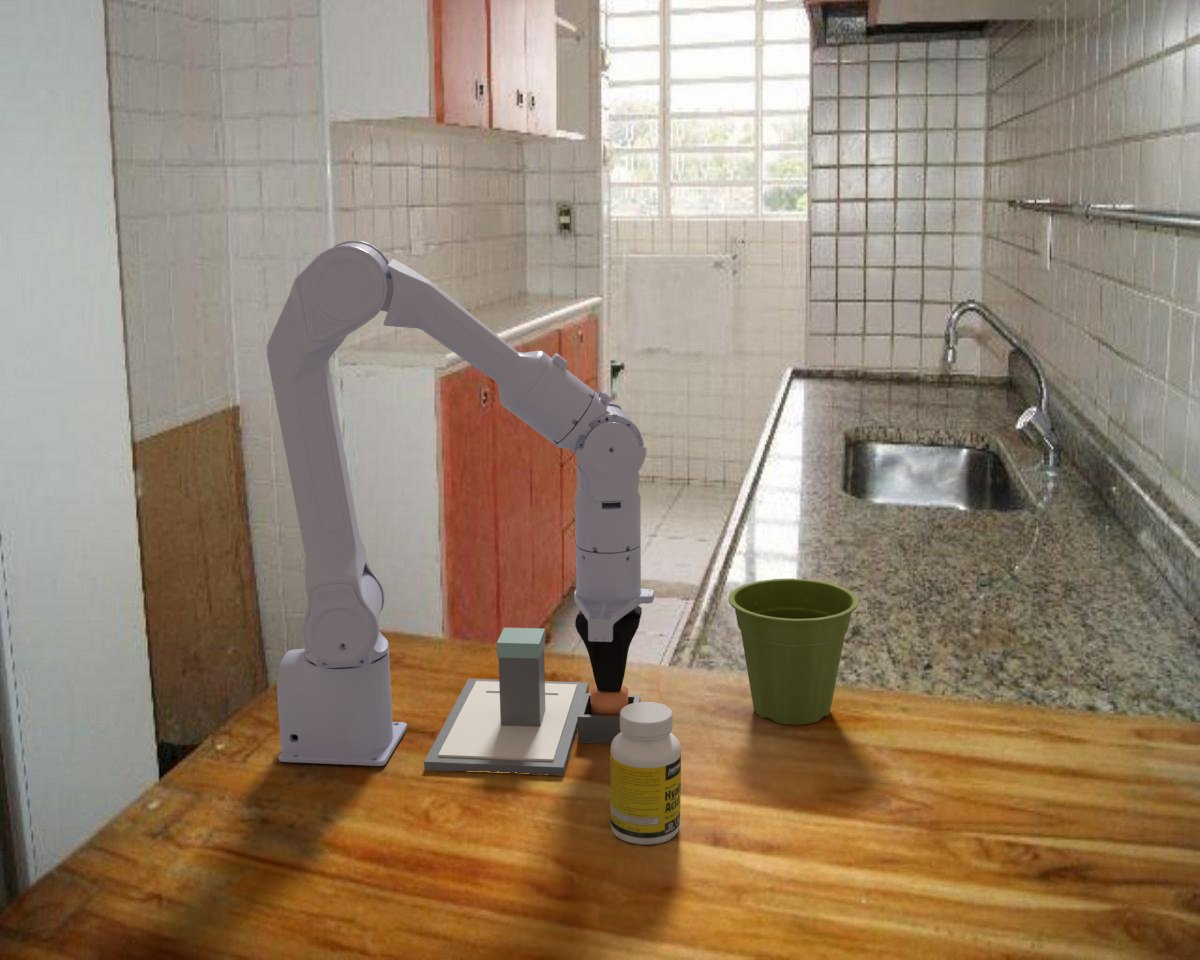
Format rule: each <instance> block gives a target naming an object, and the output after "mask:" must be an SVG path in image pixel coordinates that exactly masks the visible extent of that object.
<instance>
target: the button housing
mask: <svg viewBox="0 0 1200 960" xmlns="http://www.w3.org/2000/svg"><path fill="white" fill-rule="evenodd" d="M637 702H641V694H628V705H629V704H632V703H637ZM577 719H578V728H577V743H581V744H601V745H603V744H605V745H611V743H612V741H613V739H614V738H615V736H616V735H618V734H619V733H620V732H621V731H620V716H610V715H593V714H592V713H591V692H588V693H584V696H583V700H582V703H581V706H580V710H579V713H578V717H577Z"/></svg>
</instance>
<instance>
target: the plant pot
mask: <svg viewBox="0 0 1200 960" xmlns="http://www.w3.org/2000/svg"><path fill="white" fill-rule="evenodd" d="M859 600H860V599H859V597H858V596H857V595H856V593H854V591H851V590H849V589H848V588H847V587H843V586H842V585H841V586H840V585H837V584H835V583H831V582H827V581H822V580H815V579H808V578H806V579H805V578H772V579H765V580H757V581H753V582H749V583H746V584H742V585H740V586H738V587H737V588H734V589H733V590H732V591H731V592H730V593H729V595H728V602H729V604H730V606H731V607H732V608H734V611H735V617H736V623H737V626H738V628H739V630H740V634H741V641H742V645H743V653H744V658H745V659H744V660H745V663H746V664H745V666H746V670H747V676H748V677H747V678H748V681H749V682H748V683H749V688H750V695H751V700H752V705H753V706H752V707H753V710H754V711H755V713H756V714H757V715H758V716H759V717H761V718H763V719H765V718H769V719H771V720H773V721H775V723H778V724H783V725H788V726H789V725H790V726H794V725H810V724H813V723H816V722H819V721H820V720H821V719H822V718H824V717H825V716H826V717H828V716H829V714H830V712H831V709H832V704H833V699H834V694H835V693H834V692H835V687H836V682H837V678H838V673H839V667H840V662H841V657H842V651H843V646H844V642H845V636H846V633H848V630H849V627H850V626H849V625H850V622H851V617H852V613H853V612H854V611H856V609H858V606H859V603H860V601H859Z"/></svg>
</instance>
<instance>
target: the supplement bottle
mask: <svg viewBox="0 0 1200 960" xmlns="http://www.w3.org/2000/svg"><path fill="white" fill-rule="evenodd" d="M673 726H674V725H673V711H672V709H671V708H670V707H669V706H667V705H665V704H663V703H659V702H654V701H640V702H637V703H632V704H629V705H626V706H625V707H623V708H622V709H621V711H620V731H621V732H620V733H619V734H618V735H616V736H615V738H614V739H613V741H612V743H611V744H610V761H609V763H610V768H609V769H610V774H609V775H610V777H609V778H610V781H609V782H610V785H609V786H610V796H609V797H610V799H609V800H610V803H609V804H610V809H609V811H610V813H609V814H610V815H609V817H610V828H611V831H612V832H613V834H614V835H615V837H617V838H618V839H620V840H622V841H624V842H626V843H627V842H628V843H630V844H634V845H645V846H647V845H659V844H662V843H664V842H668V841H670V840H672V839H673V838H674V837H675V836H676V835H677V834H678V832H679V831H680V825H681V823H680V822H681V790H682V789H681V786H682V747H681V743H680V741H679V739H678V738H677V736H675V735H674V734H673V733H672V732H673Z"/></svg>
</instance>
